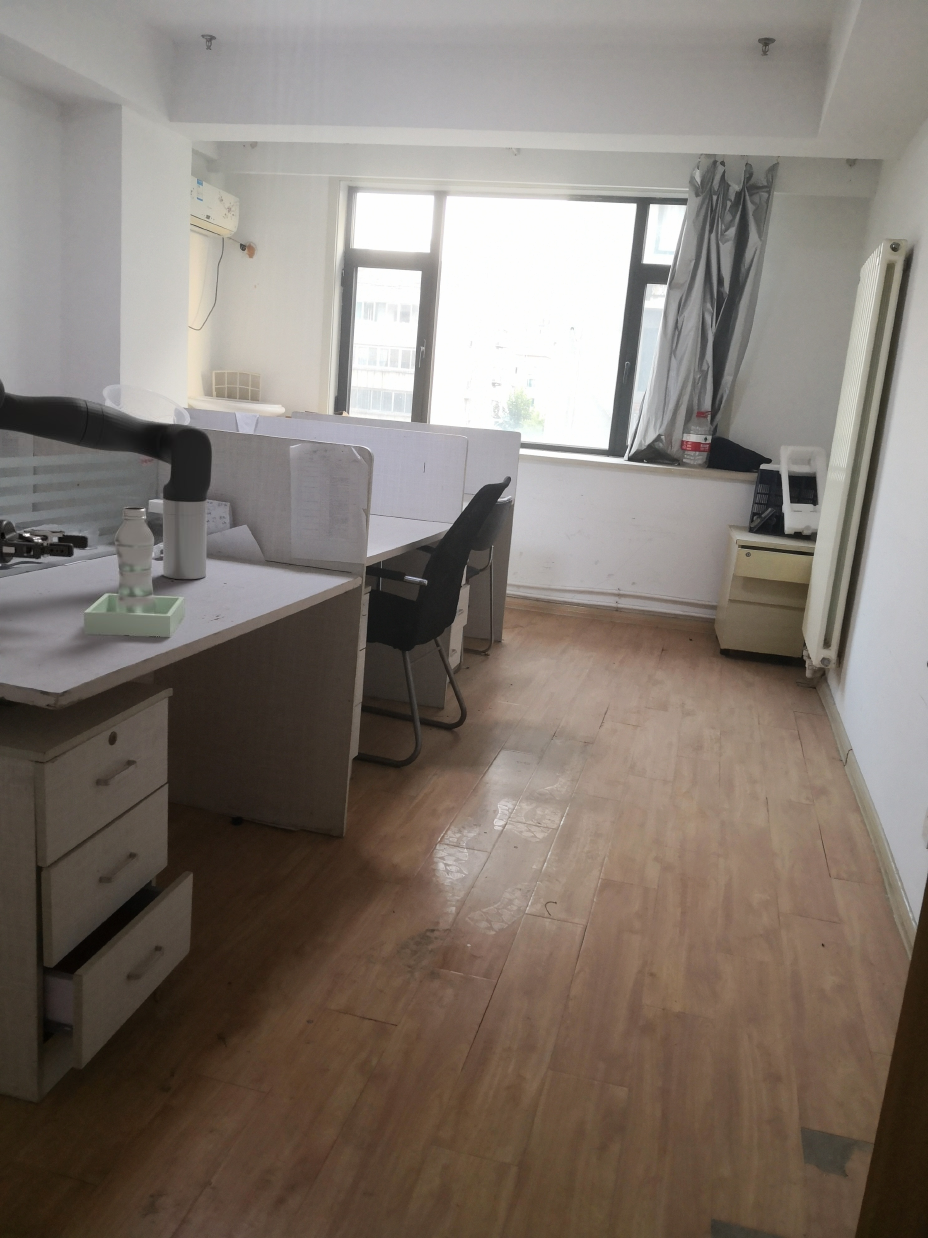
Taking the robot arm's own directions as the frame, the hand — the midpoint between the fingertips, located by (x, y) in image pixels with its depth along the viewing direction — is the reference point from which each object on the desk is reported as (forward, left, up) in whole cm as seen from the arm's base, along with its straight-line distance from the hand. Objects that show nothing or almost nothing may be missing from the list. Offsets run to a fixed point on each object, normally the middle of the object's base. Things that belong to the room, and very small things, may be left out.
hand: (80, 546), depth 150 cm
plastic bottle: (0, +9, -13) cm, 16 cm away
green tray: (0, +9, -14) cm, 16 cm away
